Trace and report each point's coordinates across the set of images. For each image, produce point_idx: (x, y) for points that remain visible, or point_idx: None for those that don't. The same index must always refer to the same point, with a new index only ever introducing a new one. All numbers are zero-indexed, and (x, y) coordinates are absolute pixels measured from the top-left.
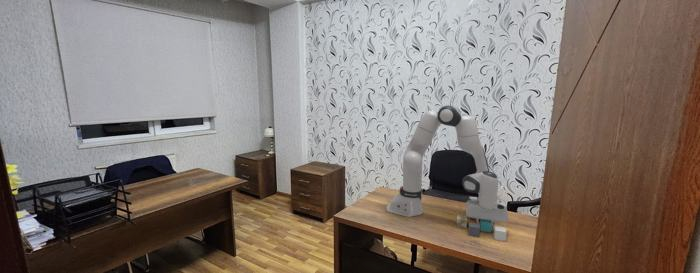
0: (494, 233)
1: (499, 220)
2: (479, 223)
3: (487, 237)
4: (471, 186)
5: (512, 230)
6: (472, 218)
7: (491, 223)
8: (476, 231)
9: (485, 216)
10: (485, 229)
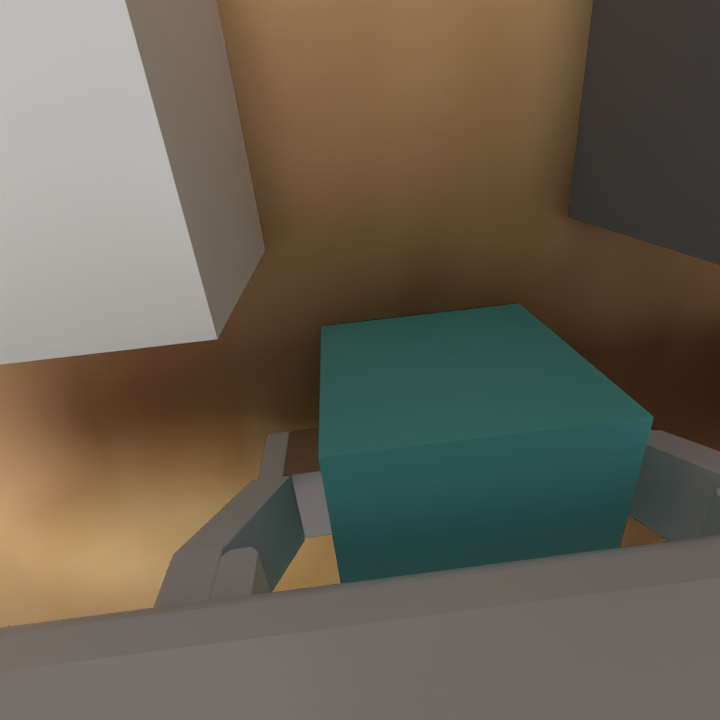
0: (206, 80)
1: (3, 667)
2: None
3: (390, 14)
4: None
5: (3, 550)
6: None
7: (327, 465)
8: None
9: (673, 708)
10: (442, 331)
